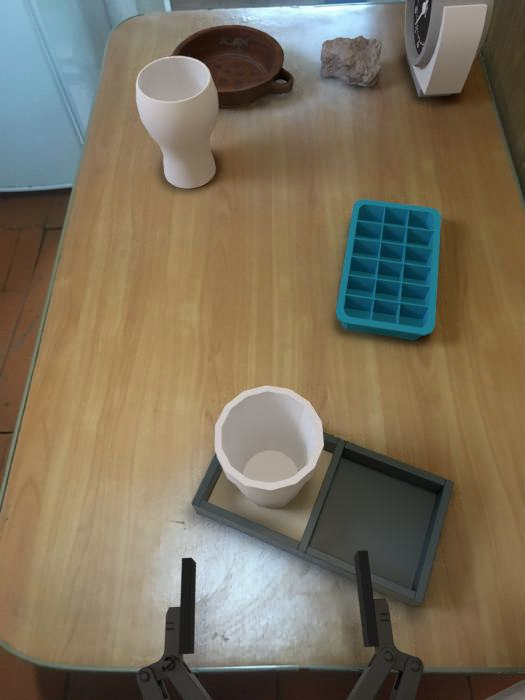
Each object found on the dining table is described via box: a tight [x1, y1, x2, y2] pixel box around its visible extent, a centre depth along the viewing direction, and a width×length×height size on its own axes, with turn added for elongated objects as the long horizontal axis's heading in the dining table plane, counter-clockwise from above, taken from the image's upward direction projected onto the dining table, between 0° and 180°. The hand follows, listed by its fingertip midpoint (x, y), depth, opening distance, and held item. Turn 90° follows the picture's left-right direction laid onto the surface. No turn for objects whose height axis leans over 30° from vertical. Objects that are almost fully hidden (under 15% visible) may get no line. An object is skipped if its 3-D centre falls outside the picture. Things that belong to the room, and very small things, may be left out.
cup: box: [135, 55, 220, 189], centre depth 76 cm, size 11×11×15 cm
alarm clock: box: [403, 0, 495, 98], centre depth 83 cm, size 18×8×20 cm, turn 3°
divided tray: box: [190, 431, 455, 608], centre depth 56 cm, size 23×12×4 cm, turn 67°
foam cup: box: [214, 384, 324, 509], centre depth 53 cm, size 10×9×13 cm
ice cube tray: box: [335, 198, 442, 341], centre depth 71 cm, size 12×20×3 cm, turn 169°
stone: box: [320, 35, 383, 88], centre depth 90 cm, size 8×10×6 cm
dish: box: [168, 24, 295, 107], centre depth 91 cm, size 18×22×5 cm
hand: (274, 556), depth 44 cm, fingers open, 13 cm apart
